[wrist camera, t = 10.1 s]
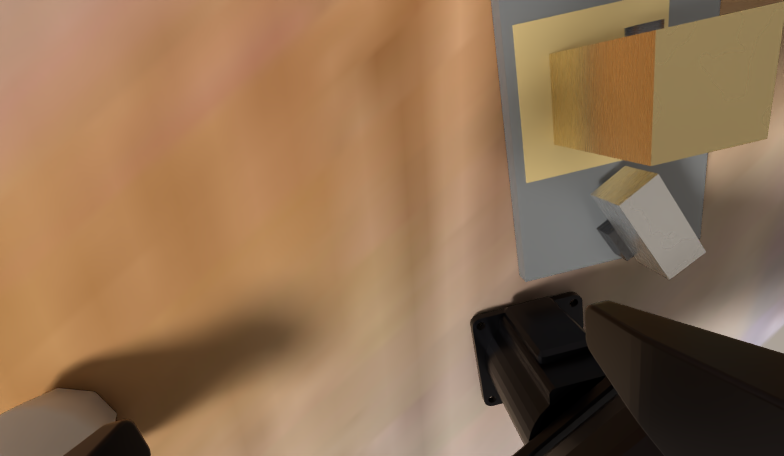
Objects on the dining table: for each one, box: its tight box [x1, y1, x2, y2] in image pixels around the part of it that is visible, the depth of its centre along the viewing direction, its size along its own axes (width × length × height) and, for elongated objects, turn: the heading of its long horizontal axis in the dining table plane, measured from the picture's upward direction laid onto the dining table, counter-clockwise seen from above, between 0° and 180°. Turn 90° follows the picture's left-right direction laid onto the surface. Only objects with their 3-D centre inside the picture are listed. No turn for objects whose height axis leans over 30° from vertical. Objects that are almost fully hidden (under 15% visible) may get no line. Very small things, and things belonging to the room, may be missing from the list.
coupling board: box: [491, 0, 721, 282], centre depth 17 cm, size 18×10×1 cm, turn 12°
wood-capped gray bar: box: [590, 166, 706, 280], centre depth 16 cm, size 18×4×3 cm, turn 12°
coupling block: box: [549, 1, 784, 166], centre depth 14 cm, size 5×4×6 cm
